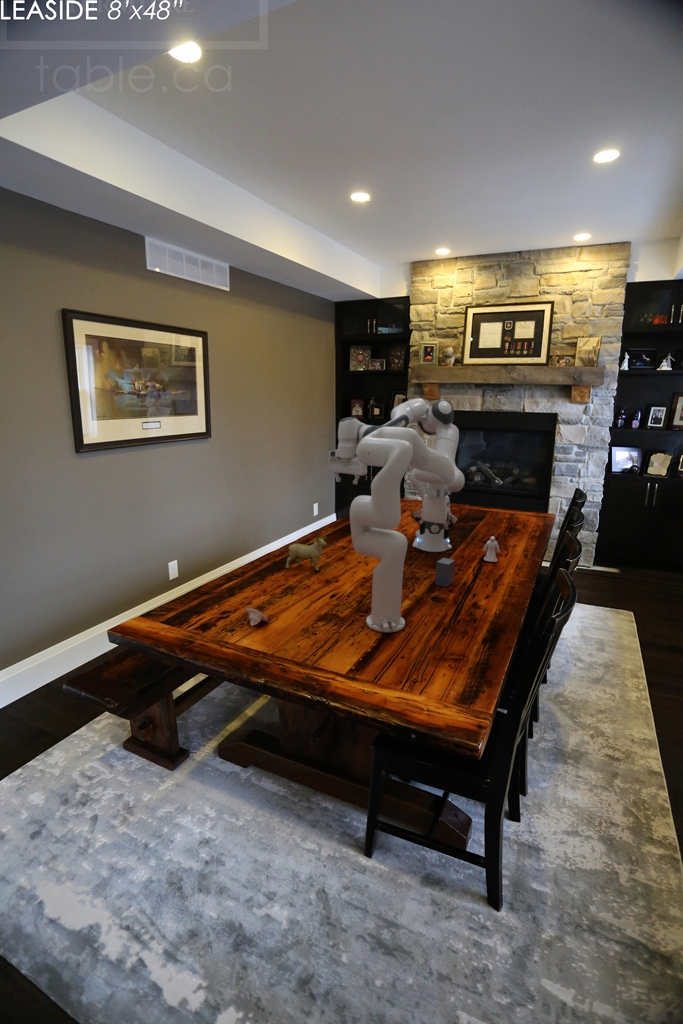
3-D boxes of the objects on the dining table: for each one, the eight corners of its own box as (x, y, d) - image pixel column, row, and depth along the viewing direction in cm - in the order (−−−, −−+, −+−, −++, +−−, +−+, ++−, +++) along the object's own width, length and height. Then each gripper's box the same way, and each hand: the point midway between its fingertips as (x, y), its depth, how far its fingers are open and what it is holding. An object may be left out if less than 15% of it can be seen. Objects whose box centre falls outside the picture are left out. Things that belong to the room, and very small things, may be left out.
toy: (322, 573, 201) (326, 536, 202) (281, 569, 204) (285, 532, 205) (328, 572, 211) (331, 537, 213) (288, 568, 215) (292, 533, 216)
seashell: (251, 634, 162) (235, 615, 161) (262, 623, 165) (246, 604, 164) (262, 630, 156) (245, 610, 155) (273, 618, 159) (257, 599, 158)
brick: (453, 582, 199) (455, 560, 197) (446, 587, 194) (448, 564, 191) (441, 579, 202) (443, 557, 199) (435, 584, 196) (436, 561, 194)
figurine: (481, 562, 222) (483, 536, 219) (482, 556, 230) (484, 531, 227) (499, 564, 220) (501, 538, 217) (499, 558, 228) (501, 533, 225)
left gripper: (462, 493, 186) (459, 537, 190) (419, 488, 195) (417, 530, 199) (454, 497, 180) (451, 542, 184) (411, 491, 189) (409, 534, 193)
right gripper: (370, 454, 226) (369, 484, 229) (333, 450, 237) (333, 479, 241) (362, 456, 221) (361, 486, 224) (325, 452, 232) (325, 481, 236)
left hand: (434, 536), depth 192 cm, fingers open, 9 cm apart
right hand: (346, 482), depth 233 cm, fingers open, 8 cm apart
